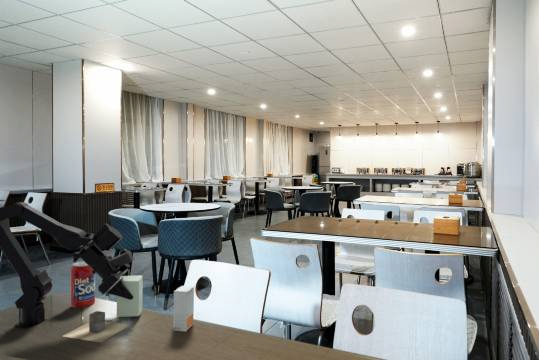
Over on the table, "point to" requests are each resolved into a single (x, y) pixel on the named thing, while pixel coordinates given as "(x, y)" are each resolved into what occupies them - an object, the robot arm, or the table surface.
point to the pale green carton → (136, 289)
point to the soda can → (82, 285)
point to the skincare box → (183, 308)
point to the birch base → (96, 336)
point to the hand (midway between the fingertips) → (134, 295)
